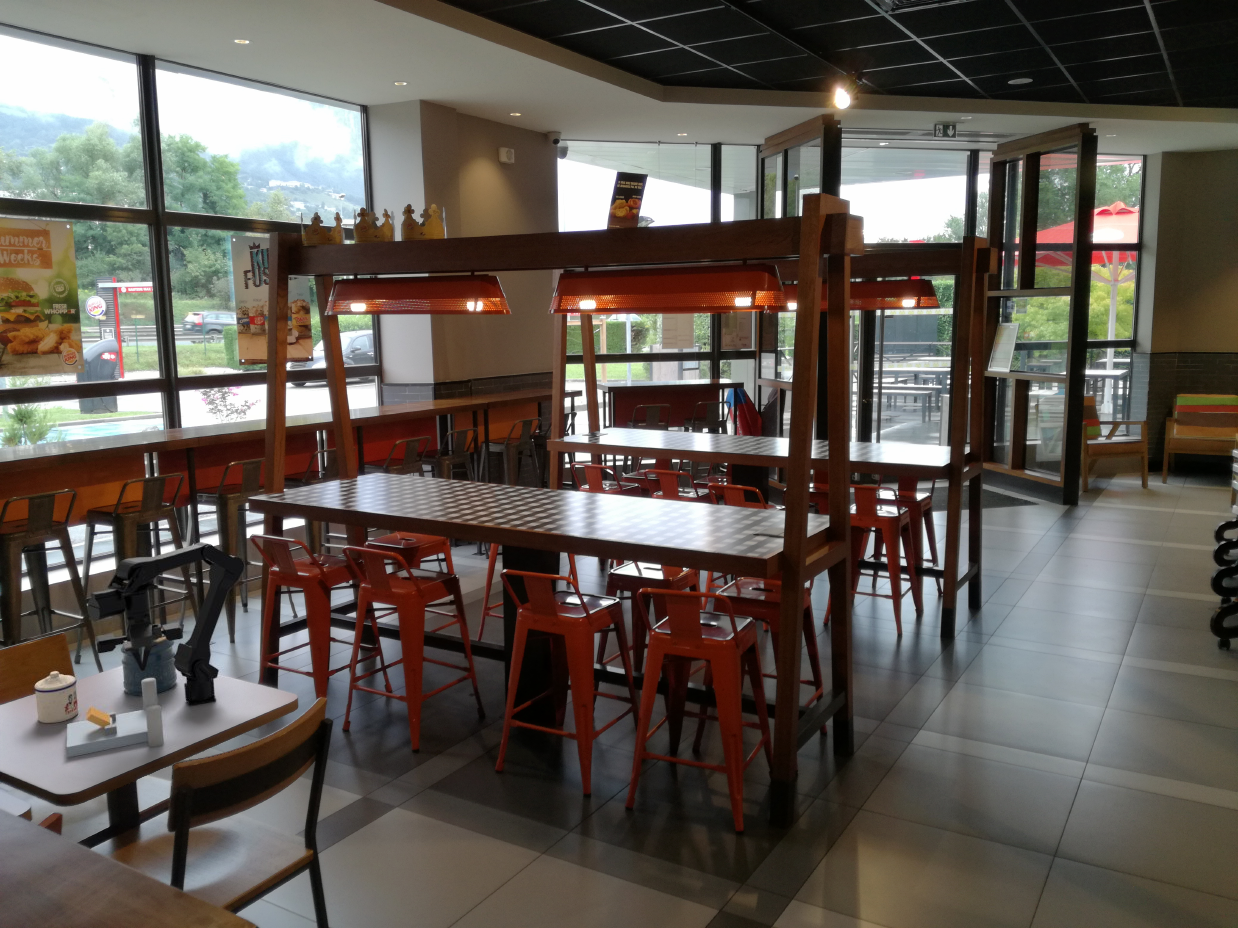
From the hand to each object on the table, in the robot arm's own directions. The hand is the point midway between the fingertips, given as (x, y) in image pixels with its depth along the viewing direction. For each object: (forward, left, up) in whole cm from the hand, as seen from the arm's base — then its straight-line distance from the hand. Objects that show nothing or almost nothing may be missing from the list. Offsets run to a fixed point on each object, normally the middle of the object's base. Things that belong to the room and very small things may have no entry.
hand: (142, 670), depth 226 cm
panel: (+8, +7, -13) cm, 16 cm away
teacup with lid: (+19, -14, -13) cm, 27 cm away
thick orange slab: (+8, +7, -10) cm, 14 cm away
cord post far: (-1, -3, -13) cm, 13 cm away
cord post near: (-1, +16, -13) cm, 21 cm away
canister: (-2, -22, -13) cm, 26 cm away
